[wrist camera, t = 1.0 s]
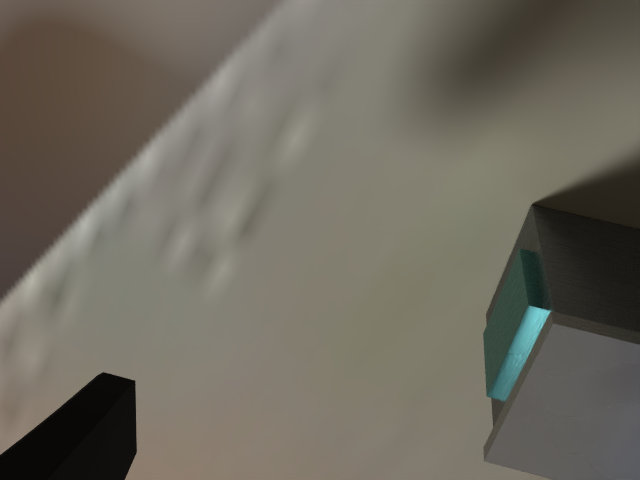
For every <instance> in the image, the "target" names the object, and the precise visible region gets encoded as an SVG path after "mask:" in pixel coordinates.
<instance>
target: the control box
mask: <svg viewBox="0 0 640 480" xmlns="http://www.w3.org/2000/svg"><path fill="white" fill-rule="evenodd" d="M486 321H487V326H486V329H485V331H484V333H483V337H484V355H485V374H486V392H487V397H491V400H492V416H493V429H492V431H491V433H490V435H489V437H488V439H487V441H486V443H485V445H484V461H486V462H489V463H493V464H497V465H501V466H504V467H508V468H512V469H516V470H519V471H523V472H527V473H530V474H534V475H538V476H542V477H545V478H549V479H553V480H640V230H638V229H634V228H630V227H625V226H621V225H617V224H613V223H608V222H604V221H600V220H595V219H591V218H587V217H582V216H578V215H574V214H570V213H565V212H561V211H557V210H552V209H548V208H544V207H540V206H535V205H531V207H530V209H529V212H528V214H527V217H526V219H525V222H524V224H523V226H522V229H521V231H520V234H519V236H518V238H517V241H516V243H515V246H514V248H513V251H512V253H511V255H510V258H509V260H508V263H507V265H506V267H505V270H504V272H503V275H502V277H501V280H500V282H499V284H498V287H497V289H496V292H495V294H494V297H493V299H492V301H491V304H490V306H489V309H488V311H487V313H486Z"/></svg>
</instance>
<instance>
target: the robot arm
mask: <svg viewBox="0 0 640 480" xmlns="http://www.w3.org/2000/svg"><path fill="white" fill-rule="evenodd" d="M136 453H137V443H136V394H135V381H134V380H130V379H127V378H123V377H119V376H115V375H112V374H108V373H104V372H103V373H101V374H99V375H97V376H96V377H95V378H94V379H93V380H92V381H90V382H89V383H88V384H87V385H86V386H85V387H83V388H82V389H81V390H80V391H79V392H78V393H76V394H75V395H74V396H73V397H72V398H71V399H69V400H68V401H67V402H66V403H65V404H63V405H62V406H61V407H60V408H59V409H57V410H56V411H55V412H54V413H53V414H51V415H50V416H49V417H48V418H46V419H45V420H44V421H43V422H42V423H40V424H39V425H38V426H37V427H35V428H34V429H33V430H32V431H30V432H29V433H28V434H27V435H25V436H24V437H23V438H22V439H20V440H19V441H18V442H16V443H15V444H14V445H13V446H11V447H10V448H9V449H7V450H6V451H5V452H4V453H2V454H1V455H0V480H125V478H126V475H127V473H128V471H129V469H130V466H131V464H132V462H133V460H134V457H135V455H136Z"/></svg>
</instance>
